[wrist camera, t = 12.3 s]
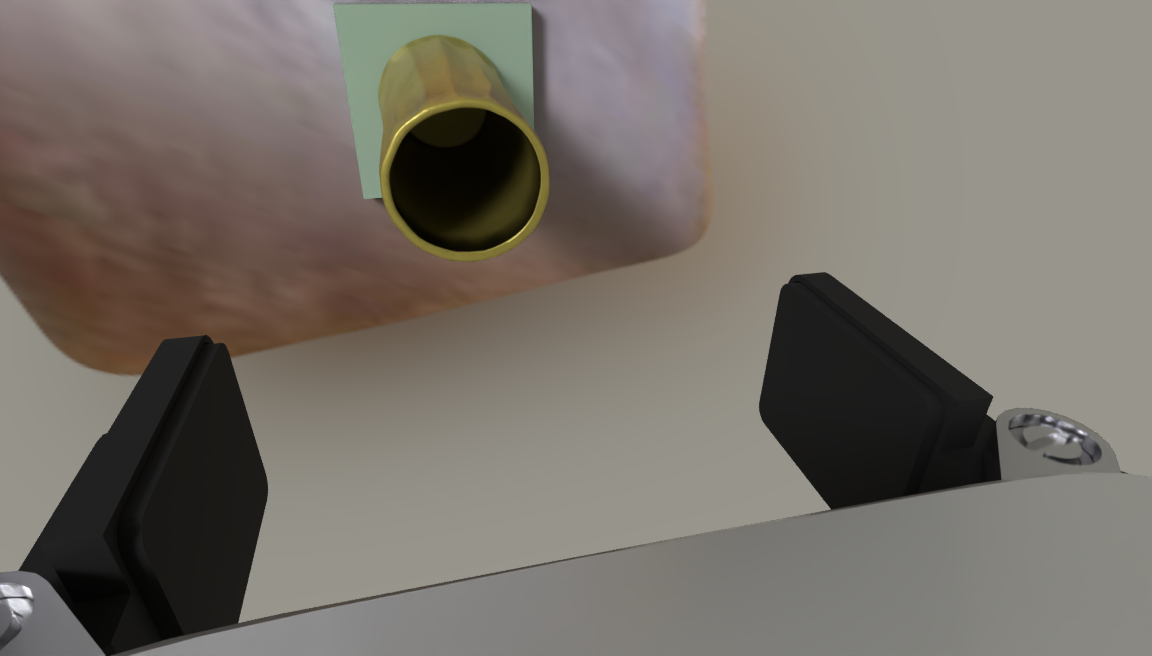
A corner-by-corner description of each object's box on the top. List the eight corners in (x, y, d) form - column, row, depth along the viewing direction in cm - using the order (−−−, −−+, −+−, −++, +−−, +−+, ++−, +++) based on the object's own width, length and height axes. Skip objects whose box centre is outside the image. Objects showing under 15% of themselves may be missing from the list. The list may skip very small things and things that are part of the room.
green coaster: (334, 3, 30) (332, 4, 29) (527, 2, 32) (531, 3, 31) (364, 192, 34) (363, 198, 33) (532, 182, 36) (535, 187, 35)
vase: (351, 78, 31) (319, 154, 19) (460, 7, 30) (500, 37, 18) (427, 185, 34) (442, 309, 22) (526, 122, 33) (598, 212, 21)
